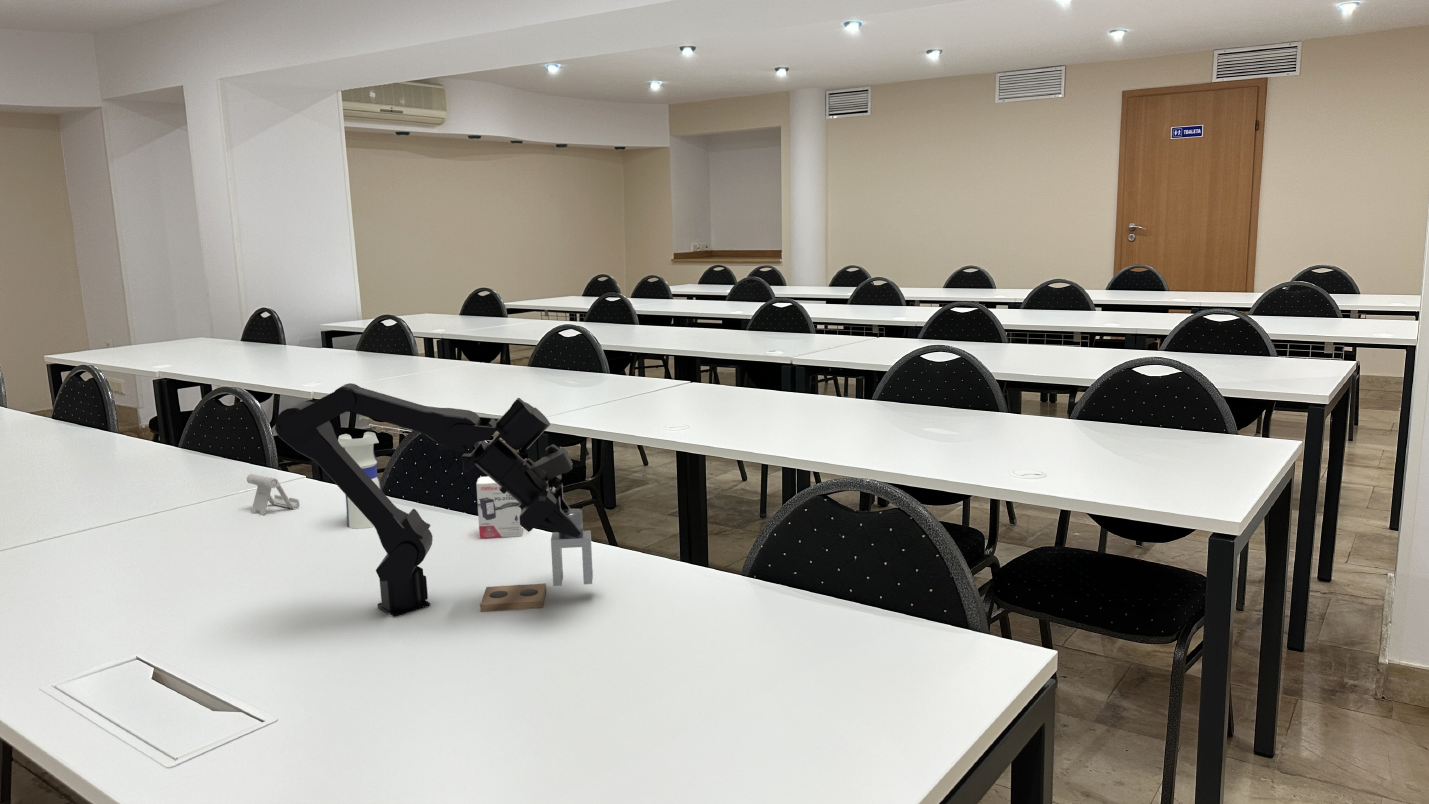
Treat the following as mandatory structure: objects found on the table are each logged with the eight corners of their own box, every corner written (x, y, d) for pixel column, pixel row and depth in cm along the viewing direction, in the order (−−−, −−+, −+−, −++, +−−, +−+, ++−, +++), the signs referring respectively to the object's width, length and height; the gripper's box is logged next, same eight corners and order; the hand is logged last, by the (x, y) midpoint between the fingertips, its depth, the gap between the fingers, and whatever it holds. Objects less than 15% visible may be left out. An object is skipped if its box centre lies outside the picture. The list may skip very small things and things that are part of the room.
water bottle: (342, 520, 209) (331, 407, 204) (383, 515, 212) (373, 403, 208) (345, 531, 201) (333, 414, 197) (388, 525, 205) (377, 409, 200)
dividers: (553, 586, 159) (549, 516, 157) (554, 577, 163) (551, 509, 161) (592, 584, 160) (589, 514, 158) (592, 575, 164) (589, 507, 162)
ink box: (479, 539, 194) (475, 482, 192) (481, 531, 199) (477, 476, 197) (522, 536, 195) (518, 480, 193) (523, 529, 200) (520, 474, 198)
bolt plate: (480, 611, 157) (479, 604, 157) (487, 593, 165) (486, 586, 164) (542, 607, 158) (542, 600, 158) (546, 589, 166) (545, 582, 165)
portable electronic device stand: (300, 508, 220) (296, 472, 218) (268, 517, 213) (264, 480, 212) (277, 503, 224) (273, 468, 223) (245, 512, 218) (241, 476, 216)
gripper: (537, 446, 148) (612, 512, 151) (545, 422, 166) (612, 482, 169) (488, 498, 148) (563, 563, 151) (502, 469, 167) (569, 527, 170)
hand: (579, 531), depth 160 cm, fingers closed on dividers, 4 cm apart
